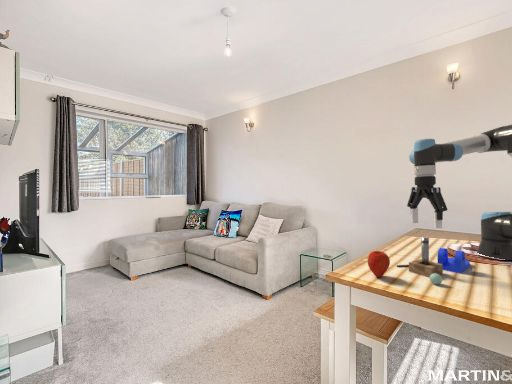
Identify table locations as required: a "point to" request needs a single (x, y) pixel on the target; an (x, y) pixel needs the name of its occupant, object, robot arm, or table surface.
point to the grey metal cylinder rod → (425, 250)
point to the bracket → (453, 261)
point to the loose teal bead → (435, 278)
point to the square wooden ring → (425, 268)
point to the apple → (378, 263)
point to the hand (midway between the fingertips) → (425, 225)
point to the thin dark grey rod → (402, 265)
